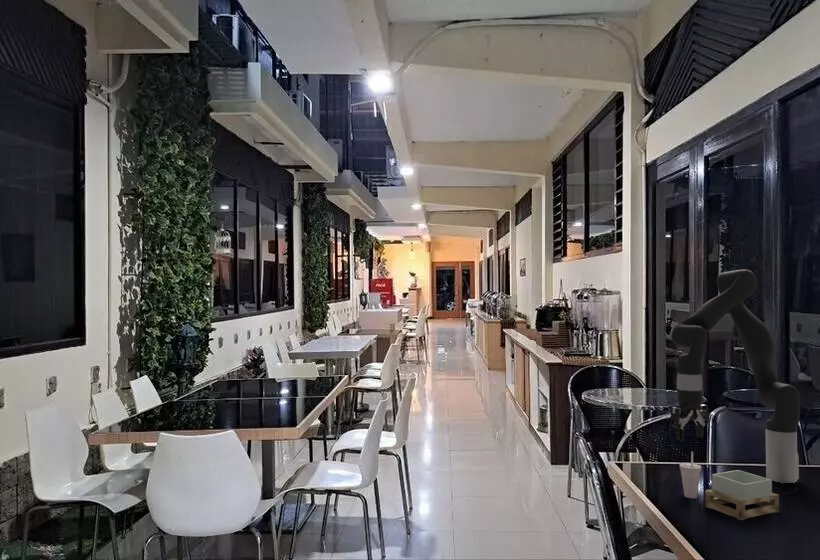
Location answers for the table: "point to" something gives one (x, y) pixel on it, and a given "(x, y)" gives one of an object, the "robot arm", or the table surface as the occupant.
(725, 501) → the wooden pallet
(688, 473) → the smoothie
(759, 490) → the grey crate
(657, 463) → the table surface
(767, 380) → the robot arm
